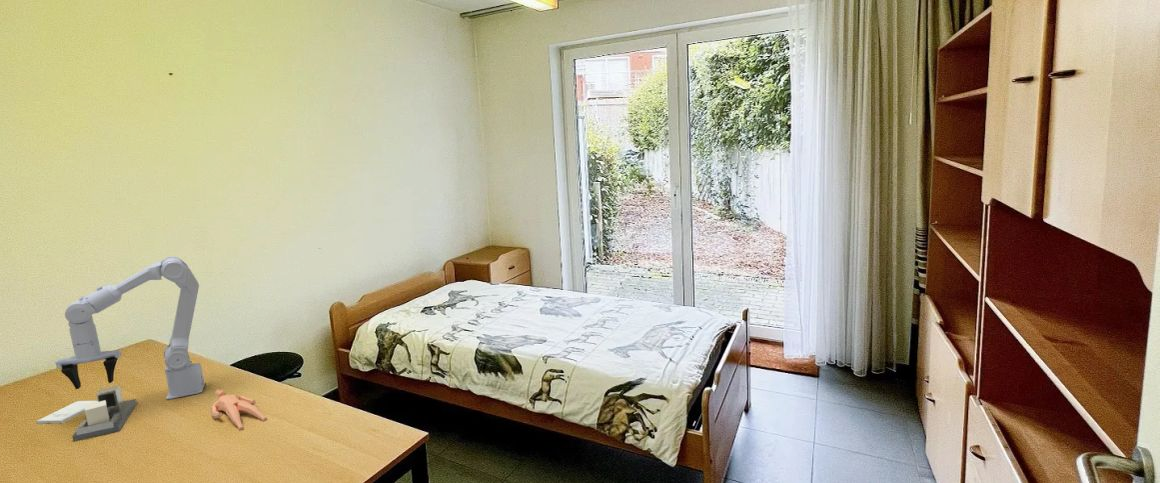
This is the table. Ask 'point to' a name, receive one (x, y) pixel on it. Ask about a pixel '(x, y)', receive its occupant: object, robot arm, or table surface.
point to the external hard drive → (65, 413)
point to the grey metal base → (116, 412)
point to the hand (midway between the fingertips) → (94, 384)
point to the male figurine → (235, 407)
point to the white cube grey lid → (97, 413)
